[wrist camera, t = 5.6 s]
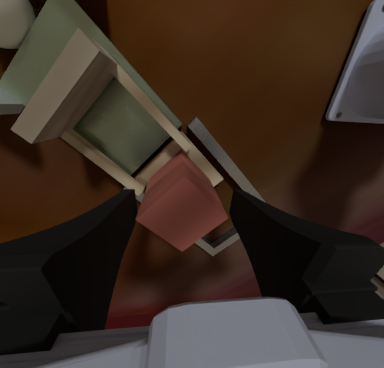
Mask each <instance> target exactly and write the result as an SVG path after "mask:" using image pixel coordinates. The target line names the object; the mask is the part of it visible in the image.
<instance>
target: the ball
mask: <svg viewBox="0 0 384 368" xmlns="http://www.w3.org/2000/svg"><path fill="white" fill-rule="evenodd" d="M35 20H36V17H35V13H34V10H33V7H32V5H31V3H30V1H29V0H0V48H5V49H18V48H20V46H21V44H22V42H23V41H24V39H25V37H26V35H27V34H28V32H29V30H30V29H31V27H32V25H33V23H34V22H35Z"/></svg>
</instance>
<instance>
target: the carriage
mask: <svg viewBox="0 0 384 368" xmlns="http://www.w3.org/2000/svg"><path fill="white" fill-rule="evenodd" d="M114 76H115V77H116V78H117V80H118V81H119V82H120V83H121V84H122V85H123V86H124V87H125V88H126V89H127V90H128V91H129V92H130V93H131V94H132V95H133V96H134V98H135V99H136V100H137V101H138V102H139V103H140V104H141V105H142V106H143V107H144V108H145V109H146V110H147V111H148V112H149V113H150V114H151V116H152V117H153V118H154V119H155V120H156V121H157V122H158V123H159V124H160V125H161V126H162V127H163V128H164V129H165V130H166V131H167V132H168V134H169V135H170V136H171V137H172V138H173V139H172V140H171V141H170V142H169V143H168V144H167V145H166V146H165V147H164V148H163V149H162V150H161V151H160V152H159V153H158V154H157V155H156V156H155V157H154V158H153V159H152V160H151V161H150V162H149V163H148V164H147V165H146V166H145V167H144V168H143V169H142V170H141V171H140V172H139V173H138V174H136V176H135V178H133V177H131V176H130V175H129V174H128V173H126V172H125V171H124V170H123V169H121V168H120V167H119V166H118V165H116V164H115V163H114V162H113V161H112V160H110V159H109V158H108V157H107V156H105V155H104V154H103V153H102V152H100V151H99V150H98V149H97V148H95V147H94V146H93V145H92V144H90V143H89V142H88V141H87V140H85V139H84V138H83V137H82V136H81V135H79V134H78V133H77V132H76V131H74V130H73V128H74V127H75V126H76V124H77V123H78V122H79V121H80V119H81V118H82V117H83V116H84V114H85V113H86V112H87V111H88V109H89V108H90V107H91V105H92V104H93V103H94V102H95V100H96V99H97V98H98V97H99V95H100V94H101V93H102V92H103V90H104V89H105V88H106V87H107V85H108V84H109V83H110V81H111V80H112V79H113V78H114ZM10 130H12V131H13V132H15V133H16V134H18V135H19V136H21V137H22V138H23V139H25V140H26V141H28V142H29V143H31V144H34V143H38V142H41V141H45V140H49V139H53V138H57V137H61V138H62V139H64V140H65V141H66V142H68V143H69V144H70V145H72V146H73V147H74V148H75V149H77V150H78V151H79V152H81V153H82V154H83V155H85V156H86V157H87V158H89V159H90V160H91V161H93V162H94V163H95V164H96V165H98V166H99V167H100V168H102V169H103V170H104V171H106V172H107V173H108V174H110V175H111V176H112V177H114V178H115V179H116V180H117V181H119V182H120V183H121V184H123V185H124V186H125V187H127V188H128V189H135V194H136V195H137V196H139V195H140V194H141V193H142V192H143V190H144V188H145V187H146V191H145V194H144V197H143V199H142V202H141V205H140V208H139V211H138V213H137V216H136V219H135V220H136V221H138V222H139V223H141V224H142V225H144V226H145V227H147V228H148V229H149V230H151V231H152V232H154V233H155V234H157V235H158V236H160V237H161V238H163V239H164V240H166V241H167V242H169V243H170V244H171V245H173V246H174V247H176V248H177V249H179V250H180V251H184V250H185V249H187V248H188V247H189V246H191V245H192V244H193V243H195V242H196V241H198V240H199V239H200V238H202V237H203V236H204V235H206V234H207V233H209V232H210V231H211V230H213V229H214V228H215V227H217V226H218V225H220V224H221V223H222V222H224V221H225V220H226V219H228V216H227V214H226V212H225V210H224V208H223V206H222V204H221V202H220V200H219V198H218V195H217V193H216V191H215V189H214V186H216V185H217V184H218V183H219V182H221V181H222V180H223V177H222V176H221V175H220V174H219V172H218V171H217V170H216V169H215V168H214V167H213V166H212V165H211V164H210V162H209V161H208V160H207V159H206V158H205V157H204V156H203V155H202V153H201V152H200V151H199V150H198V149H197V148H196V147H195V146H194V145H193V143H192V142H191V141H190V140H189V139H188V138H187V137H186V136H185V134H184V133H183V132H182V131H180V132H179V130H178V129H177V128H176V127H175V126H174V125H173V124H172V123H171V122H170V120H169V119H168V118H167V117H166V116H165V115H164V114H163V113H162V112H161V111H160V109H159V108H158V107H157V106H156V105H155V104H154V103H153V102H152V101H151V99H150V98H149V97H148V96H147V95H146V94H145V93H144V92H143V91H142V89H141V88H140V87H139V86H138V85H137V84H136V83H135V82H134V81H133V79H132V78H131V77H130V76H129V75H128V74H127V73H126V72H125V71H124V70H123V68H122V67H121V66H120V65H119V64H118V63H117V62H116V60H115V59H114V58H113V57H112V56H111V55H110V54H109V53H108V52H107V51H106V50H105V49H104V48H102V47H101V46H100V45H99V44H98V43H96V42H95V41H94V40H93V39H91V38H90V37H89V36H88V35H87V34H85V33H84V32H83V31H82V30H81V29H79V28H77V30H76V31H75V33H74V34H73V36H72V37H71V39H70V40H69V42H68V43H67V45H66V46H65V48H64V49H63V51H62V52H61V54H60V55H59V57H58V58H57V60H56V62H55V63H54V65H53V66H52V68H51V69H50V71H49V72H48V74H47V75H46V77H45V78H44V80H43V81H42V83H41V84H40V86H39V87H38V89H37V90H36V92H35V93H34V95H33V96H32V98H31V99H30V101H29V102H28V104H27V105H26V107H25V108H24V110H23V111H22V113H21V114H20V116H19V117H18V119H17V120H16V122H15V123H14V125H13V126H12V128H11V129H10Z"/></svg>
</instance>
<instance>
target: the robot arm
mask: <svg viewBox="0 0 384 368" xmlns="http://www.w3.org/2000/svg"><path fill="white" fill-rule="evenodd" d="M382 7H383V9H382ZM337 113H338V115H337ZM336 115H337V117H336ZM325 117H326V120H329V121H345V122H362V123H379V124H384V0H374V1H373V2H372V3H371V4H370V5H369V7H368V9H367V12H366V14H365V17H364V19H363V22H362V24H361V27H360V29H359V32H358V34H357V37H356V40H355V42H354V45H353V47H352V50H351V52H350V55H349V57H348V60H347V62H346V65H345V67H344V70H343V72H342V75H341V78H340V80H339V83H338V85H337V88H336V90H335V93H334V95H333V98H332V100H331V103H330V105H329V108H328V110H327V113H326V116H325ZM137 213H138V212H137V204H136V196H135V189H125V190H123V191H121V192H120V193H118V194H117V195H115V196H114V197H112V198H110V199H109V200H107V201H106V202H104V203H102V204H101V205H99V206H97V207H95V208H94V209H92V210H90V211H88V212H86V213H84V214H82V215H80V216H78V217H76V218H74V219H72V220H69V221H67V222H64V223H62V224H59V225H57V226H54V227H52V228H49V229H46V230H43V231H40V232H38V233H34V234H31V235H28V236H25V237H22V238H19V239H15V240H11V241H8V242H4V243H0V368H384V298H383V299H382V298H381V297H380V296H379V295H378V294H377V293H376V292H375V291H377V290H378V288H377V286H376V285H375V284H373V283H372V282H371V281H370V280H371V279H372V278H373V277H374V276H375V275H376V273H377V272H378V271H379V270H380V269H381V268H382V267H383V265H384V248H383V247H382V246H380V245H379V244H377V243H376V242H375V241H373V240H372V239H370V238H368V237H365V236H361V235H357V234H352V233H348V232H344V231H339V230H336V229H332V228H328V227H325V226H321V225H318V224H315V223H312V222H309V221H306V220H303V219H300V218H298V217H295V216H293V215H290V214H288V213H286V212H283V211H281V210H279V209H277V208H275V207H273V206H271V205H269V204H267V203H265V202H264V201H262V200H260V199H258V198H257V197H255V196H253V195H251V194H249V193H248V192H246V191H244V190H234V191H233V196H232V201H231V206H230V211H229V213H230V216H231V219H232V222H233V225H234V227H235V229H236V231H237V233H238V235H239V237H240V239H241V241H242V243H243V245H244V247H245V249H246V251H247V254H248V256H249V259H250V262H251V264H252V267H253V270H254V273H255V276H256V279H257V282H258V285H259V288H260V292H261V295H262V297H255V298H241V299H227V300H212V301H198V302H186V303H182V304H177V305H173V306H169V307H168V308H166V309H164V310H163V311H161V312H160V313H158V314H157V315H156V316H155V317H154V318H153V320H152V323H151V325H150V326H146V327H133V328H122V329H110V330H104V329H105V324H106V320H107V315H108V310H109V306H110V302H111V298H112V294H113V289H114V286H115V282H116V278H117V274H118V270H119V267H120V263H121V260H122V257H123V254H124V251H125V249H126V246H127V244H128V241H129V239H130V236H131V234H132V231H133V228H134V226H135V222H136V220H135V219H136V216H137Z"/></svg>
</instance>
